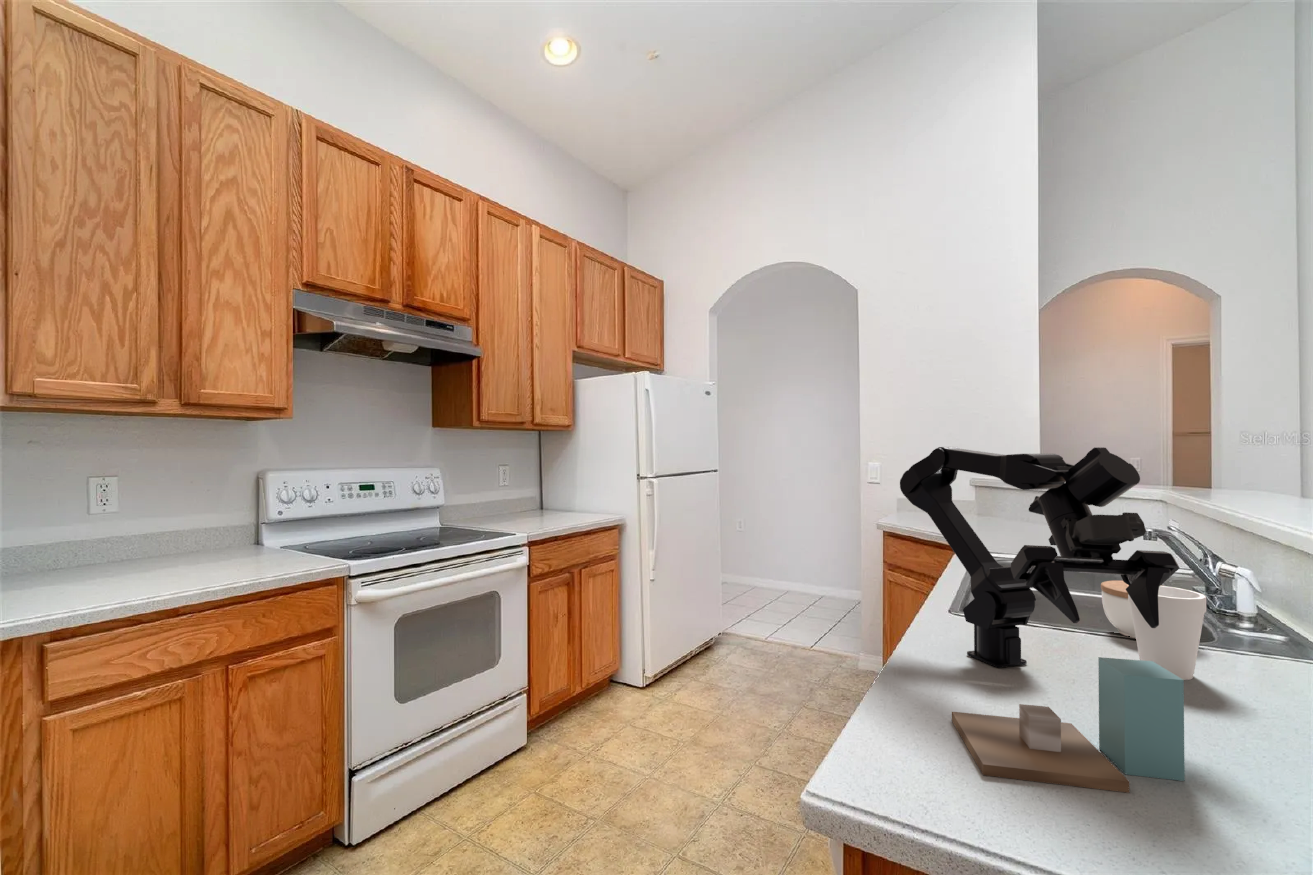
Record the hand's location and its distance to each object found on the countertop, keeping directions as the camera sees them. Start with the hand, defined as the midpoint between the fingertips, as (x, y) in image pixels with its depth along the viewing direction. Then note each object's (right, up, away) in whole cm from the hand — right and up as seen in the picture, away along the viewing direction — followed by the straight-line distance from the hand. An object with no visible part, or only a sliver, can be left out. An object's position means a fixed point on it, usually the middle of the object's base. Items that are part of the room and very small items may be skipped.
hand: (1115, 624), depth 74 cm
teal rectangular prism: (-4, -13, -8) cm, 16 cm away
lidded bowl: (+34, -14, +37) cm, 52 cm away
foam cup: (+23, -14, +19) cm, 33 cm away
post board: (-14, -13, -6) cm, 20 cm away
